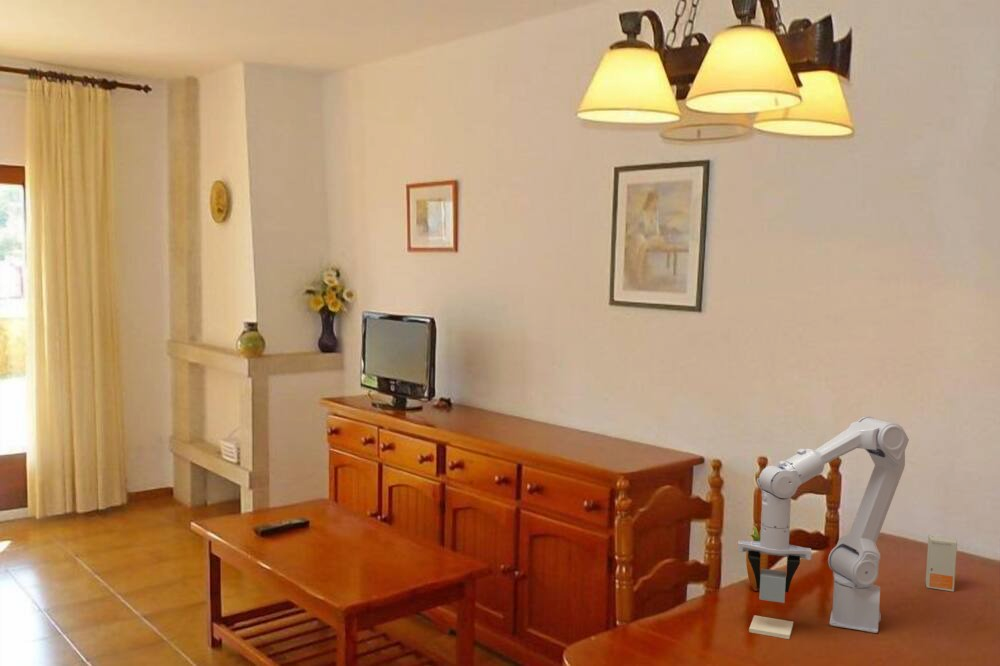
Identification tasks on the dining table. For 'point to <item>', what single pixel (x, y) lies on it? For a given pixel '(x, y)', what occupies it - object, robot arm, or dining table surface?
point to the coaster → (771, 627)
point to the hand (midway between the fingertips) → (772, 588)
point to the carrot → (762, 561)
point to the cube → (772, 585)
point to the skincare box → (941, 563)
